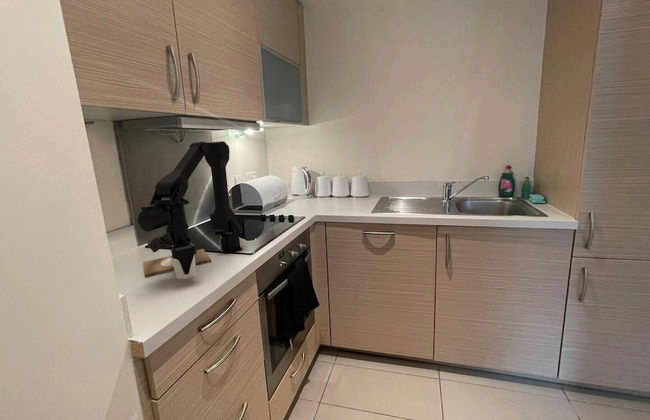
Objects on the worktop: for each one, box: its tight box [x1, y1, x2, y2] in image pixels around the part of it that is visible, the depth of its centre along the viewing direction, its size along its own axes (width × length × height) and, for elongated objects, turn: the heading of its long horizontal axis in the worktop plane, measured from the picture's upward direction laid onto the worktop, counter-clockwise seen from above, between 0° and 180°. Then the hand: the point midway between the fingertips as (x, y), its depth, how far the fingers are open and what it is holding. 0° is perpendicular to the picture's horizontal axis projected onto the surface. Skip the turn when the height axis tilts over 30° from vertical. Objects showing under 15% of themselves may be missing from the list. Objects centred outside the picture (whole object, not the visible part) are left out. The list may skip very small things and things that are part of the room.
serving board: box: [142, 248, 212, 279], centre depth 112 cm, size 20×14×1 cm
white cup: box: [170, 254, 197, 280], centre depth 100 cm, size 7×7×7 cm
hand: (185, 270), depth 100 cm, fingers closed on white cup, 6 cm apart
